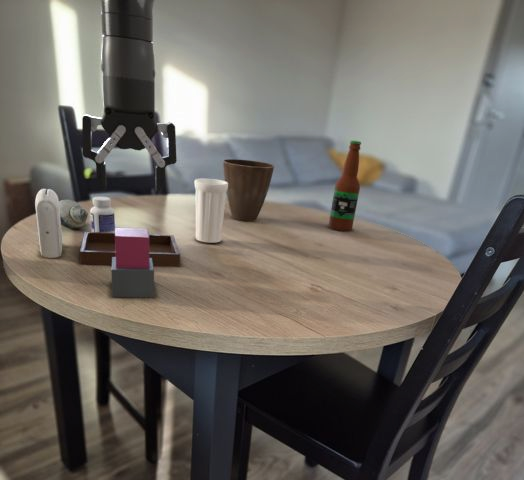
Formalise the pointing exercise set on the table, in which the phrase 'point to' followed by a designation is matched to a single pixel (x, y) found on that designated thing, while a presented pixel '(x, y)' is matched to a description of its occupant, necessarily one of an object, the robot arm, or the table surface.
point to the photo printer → (48, 223)
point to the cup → (210, 209)
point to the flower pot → (246, 187)
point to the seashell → (72, 214)
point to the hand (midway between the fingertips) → (131, 188)
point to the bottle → (346, 192)
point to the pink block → (132, 248)
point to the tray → (103, 249)
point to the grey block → (132, 281)
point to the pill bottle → (102, 215)
